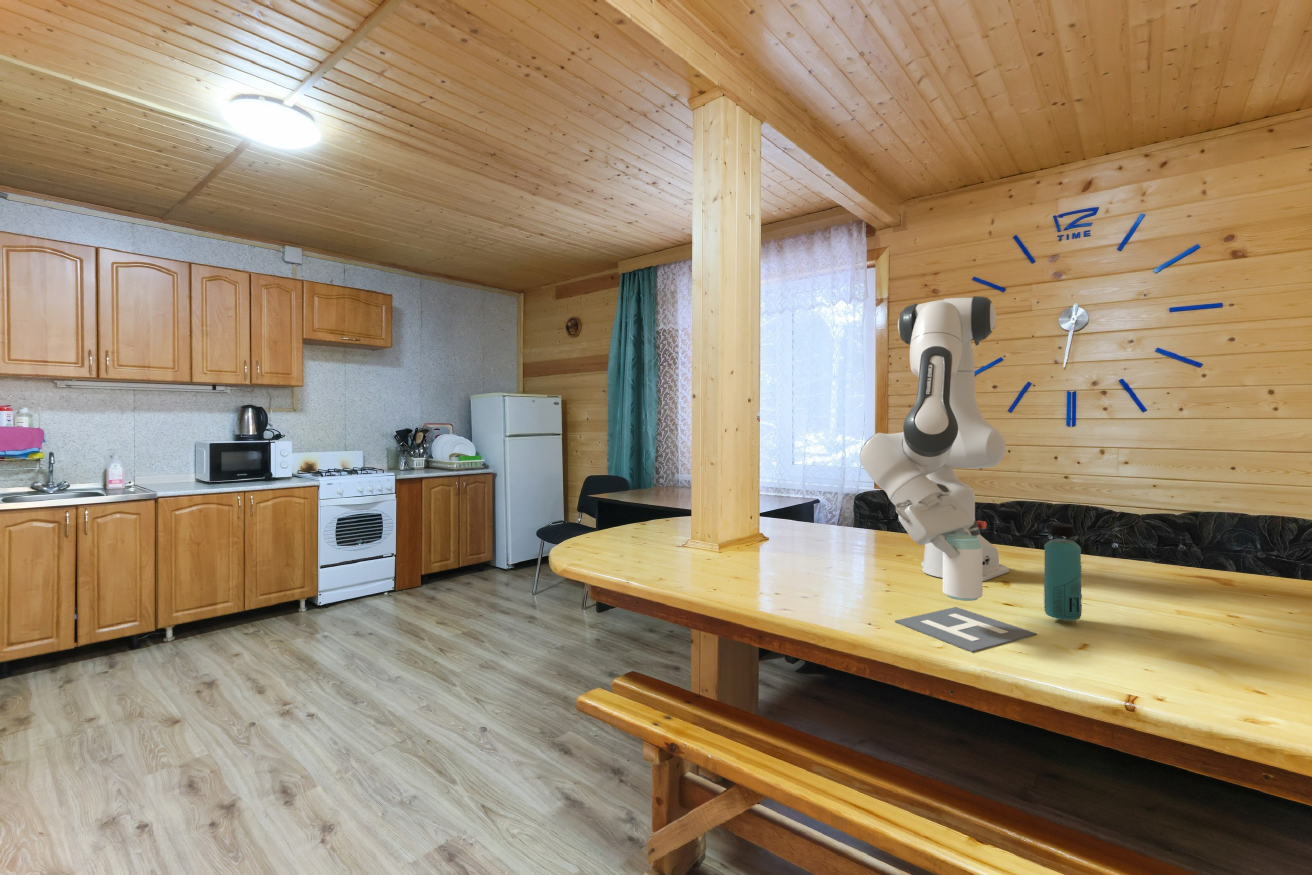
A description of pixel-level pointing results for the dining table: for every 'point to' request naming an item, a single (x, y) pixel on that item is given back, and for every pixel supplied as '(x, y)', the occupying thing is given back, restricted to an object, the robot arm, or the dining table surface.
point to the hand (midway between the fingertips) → (965, 553)
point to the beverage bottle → (1062, 575)
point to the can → (963, 568)
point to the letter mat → (965, 629)
